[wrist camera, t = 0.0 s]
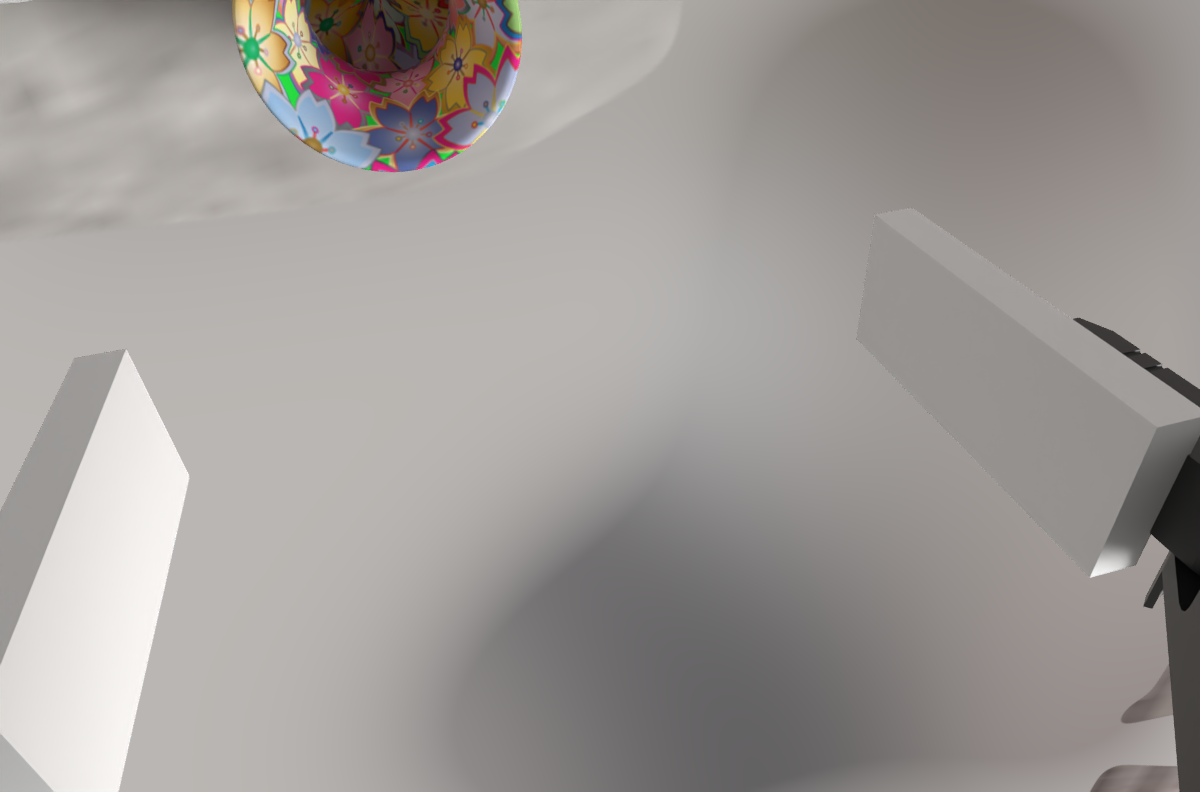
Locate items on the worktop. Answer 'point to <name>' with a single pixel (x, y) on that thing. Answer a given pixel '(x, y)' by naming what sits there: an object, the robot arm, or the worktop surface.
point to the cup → (13, 1)
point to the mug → (382, 73)
